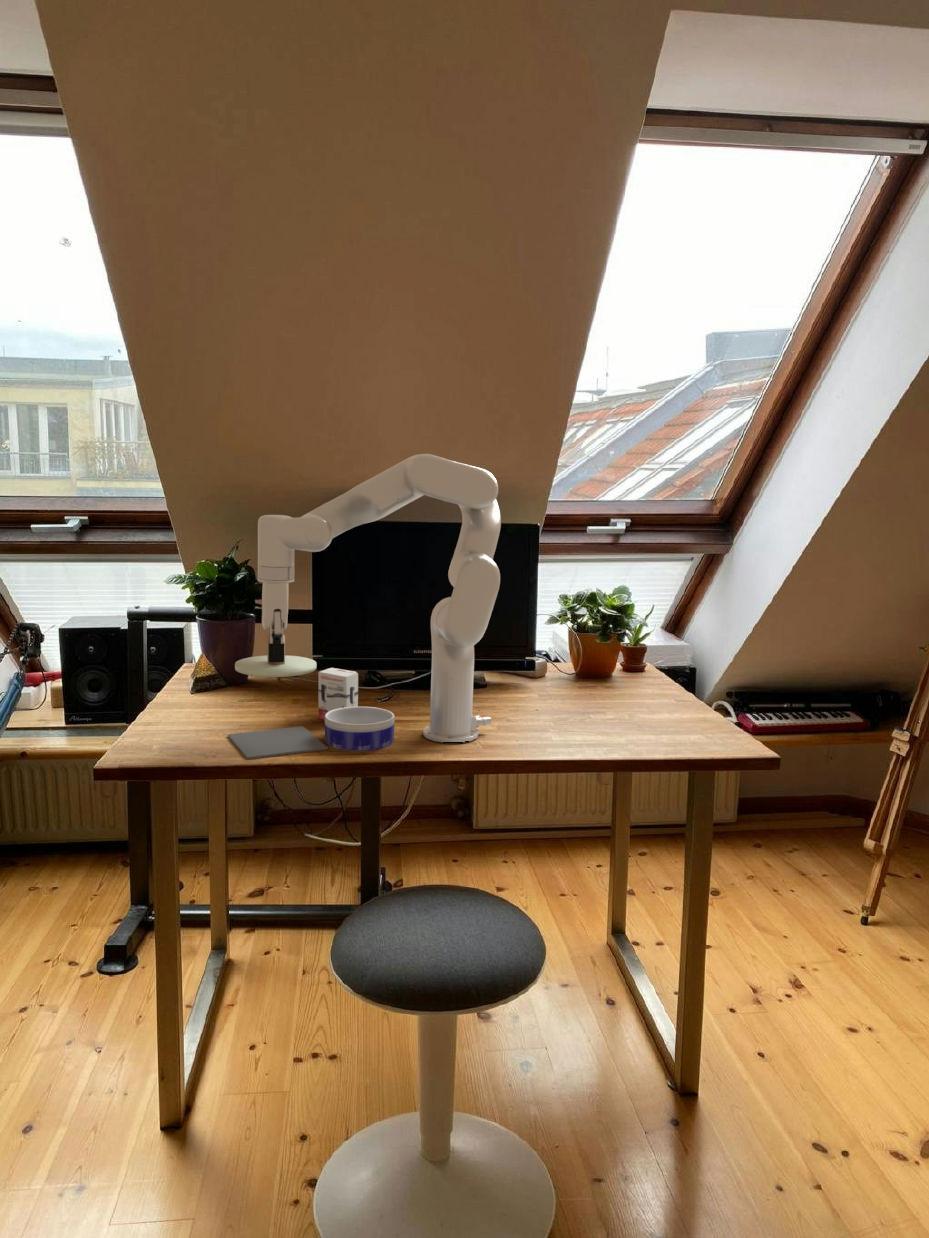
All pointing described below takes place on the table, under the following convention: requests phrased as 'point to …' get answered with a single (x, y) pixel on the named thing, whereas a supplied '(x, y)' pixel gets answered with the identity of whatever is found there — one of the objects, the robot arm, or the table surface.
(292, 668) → the lid
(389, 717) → the dog bowl
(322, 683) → the ink box
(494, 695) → the table surface
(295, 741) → the mat
